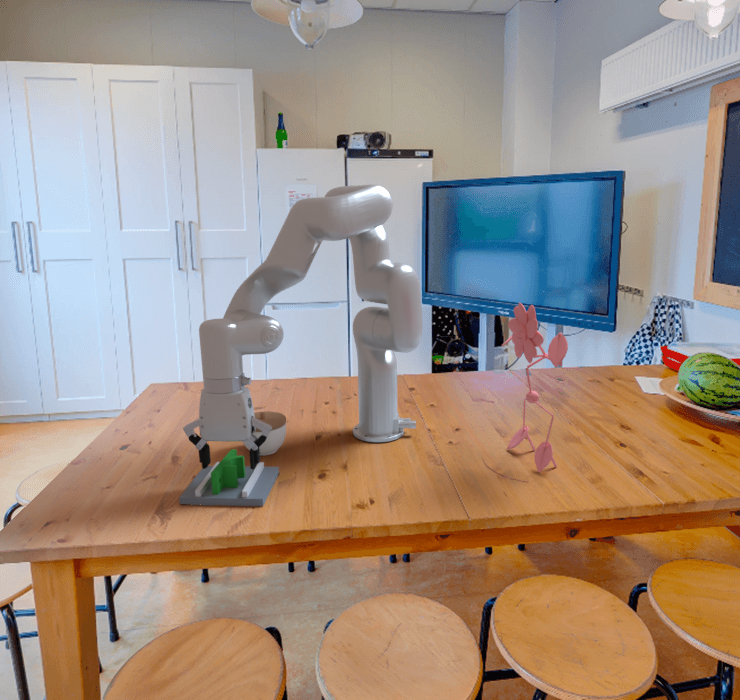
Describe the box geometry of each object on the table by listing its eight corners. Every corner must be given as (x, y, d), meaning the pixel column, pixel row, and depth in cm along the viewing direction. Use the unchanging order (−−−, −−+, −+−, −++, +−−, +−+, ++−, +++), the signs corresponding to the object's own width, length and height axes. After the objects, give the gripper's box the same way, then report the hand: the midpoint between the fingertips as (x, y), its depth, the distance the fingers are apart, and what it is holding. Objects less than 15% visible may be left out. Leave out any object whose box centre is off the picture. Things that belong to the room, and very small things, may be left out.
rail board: (279, 473, 121) (278, 461, 120) (263, 506, 108) (262, 493, 107) (204, 472, 122) (203, 460, 121) (179, 504, 109) (178, 491, 108)
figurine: (520, 436, 139) (524, 292, 130) (582, 483, 114) (592, 311, 106) (461, 444, 135) (461, 297, 127) (512, 495, 111) (516, 317, 103)
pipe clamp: (231, 495, 109) (229, 473, 108) (212, 494, 109) (210, 472, 108) (250, 469, 120) (248, 449, 119) (232, 468, 120) (231, 448, 119)
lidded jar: (247, 441, 139) (244, 404, 136) (291, 441, 138) (289, 404, 136) (235, 460, 128) (232, 420, 126) (283, 460, 128) (281, 420, 126)
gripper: (272, 378, 113) (277, 458, 117) (187, 378, 114) (194, 457, 118) (263, 389, 106) (269, 475, 110) (172, 389, 107) (180, 474, 111)
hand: (230, 466), depth 114 cm, fingers open, 9 cm apart
